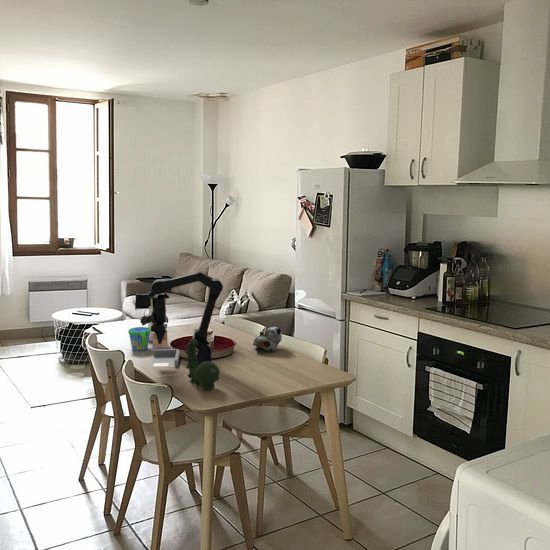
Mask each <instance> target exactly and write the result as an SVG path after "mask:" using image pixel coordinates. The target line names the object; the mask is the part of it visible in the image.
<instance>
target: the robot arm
mask: <svg viewBox="0 0 550 550" xmlns="http://www.w3.org/2000/svg"><path fill="white" fill-rule="evenodd" d="M197 282H199V283H201V284H203V285H205V286H206V287H208V293H207V298H206V303H205V306H204V309H203V314H202V316H201V320H200V322H199V323H200V324H199V326H198V328H194V331H193V335H192V336H191V339H196V340H197V341H198V346H196V345H195V349H197V350H196V356H197V361H198V363H199V365H200V364H201V363H202V362H205V361H210V362H213V361H212V346H211V343H210V342H209V341H208V331H209V327H210V323H211V320H212V315H213V312H214V309H215V306H216V303H217V300H218V298H219V296H220V295H221V293H222V291H223V287H224V286H223V283H222V281H221V280H220V279H219V278H213V277H211V276H209V275H207V274H205V273H204V272H203V271H201V270H200V271H195V272H193V273H189V274H185V275H180V276H177V277H174V278H160V279H159V278H158V279H155V280H153V282H152V285H151V288H150V290H149V291H148V294H147V293H136V294H135V305H134V309H135V308H136V309H137V310H148V309H149V307H150V306H151V299H152V302H153V311H152V313H151V314H149V313H148V314H146V315H143V316H140V318H139V321H140V324H141V327H145V326H146V325H148V324H149V323H150V322H152V323H153V324H152V325H151V332H155V333H156V336H157V339H158V343H159V344H161V343H162V340H163V337H164V334H165V331H166V330H167V328H168V326H169V325H168V323H169V317H168V316H167V305H166V303H167V300H166V298H167V299H170V295H169V294H168V293H167V292H168V291H170V290H172V289H175V288H177V287H182V286H185V285H189V284H193V283H197ZM162 293H163V294H162ZM157 294H158V296H155V295H157Z"/></svg>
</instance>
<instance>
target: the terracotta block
mask: <svg viewBox="0 0 550 550" xmlns="http://www.w3.org/2000/svg"><path fill="white" fill-rule="evenodd" d="M152 346H153V347H166V346H168V330H167V329H166V331H165V334H164V337H163V340H162V343H161V344H159V343H158V339H157V336H156V333H155V332H153V341H152Z"/></svg>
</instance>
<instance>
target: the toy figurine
mask: <svg viewBox="0 0 550 550" xmlns="http://www.w3.org/2000/svg"><path fill="white" fill-rule="evenodd" d="M195 345H196V346H198V341H197V340H196V339H192V338H191V339H190V341H189V342H188V343H187V344H186V345H185V348H186V350H185V351H184V353H185V354H186V355H187V357H185V359H184V360H185V361H187V364H186V366H185V367H186V369H187V370H188V372H189V373H187V377H188V379H190V383H191V382H192V383H191V384H194V385H195V386H199V385H203V387H204V389H205V390H206V389H207V390H206V391H209V390H208V389H210V390H213V389H214V388H215V383H216V382H217V381H219V380H220V369H219V367H218V365H217V364H216V363H214V362H213V361H212V362H210V361H205V362H202V363H201V364H200V365H199V363H198V361H197V356H196V353H197V350H196V349H197V348H196V347H195Z"/></svg>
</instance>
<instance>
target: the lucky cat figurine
mask: <svg viewBox="0 0 550 550" xmlns="http://www.w3.org/2000/svg"><path fill="white" fill-rule="evenodd" d="M282 337H283V333H282V330H281V327H276V326H271V327H268V328H267V329H266V331H265V333H264V332H263V331H261V330H260V332H259V335H258V336H256V337H255V338H253V339H254V340H253V343H252V345H253V346H254V347H256V348H257V349H258V348H260V349H263V350H265V351H267V352H270V353H275V352H276V351H277V350H278V345H279V344H280V343H281V341H282V339H283V338H282Z"/></svg>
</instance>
